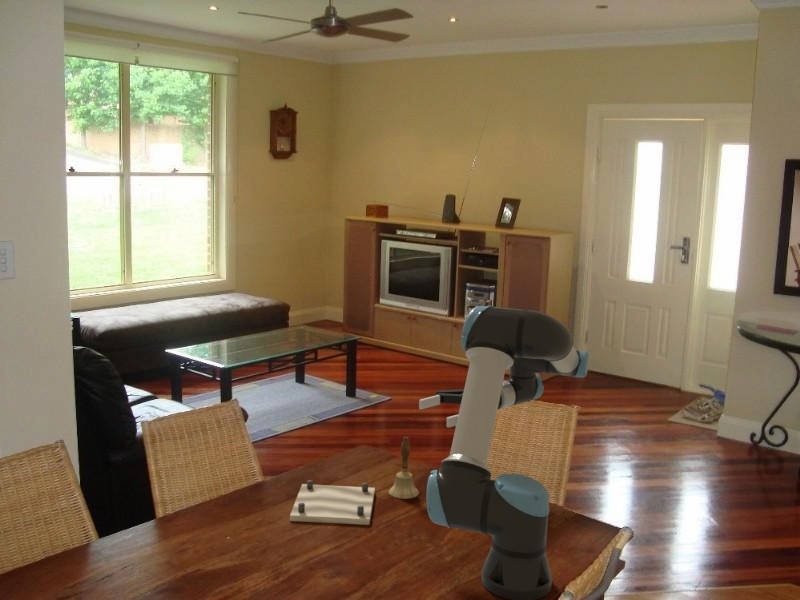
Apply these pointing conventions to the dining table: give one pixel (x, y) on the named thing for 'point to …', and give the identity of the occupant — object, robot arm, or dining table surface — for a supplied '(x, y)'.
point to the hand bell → (404, 476)
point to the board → (333, 504)
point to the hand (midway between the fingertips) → (433, 413)
